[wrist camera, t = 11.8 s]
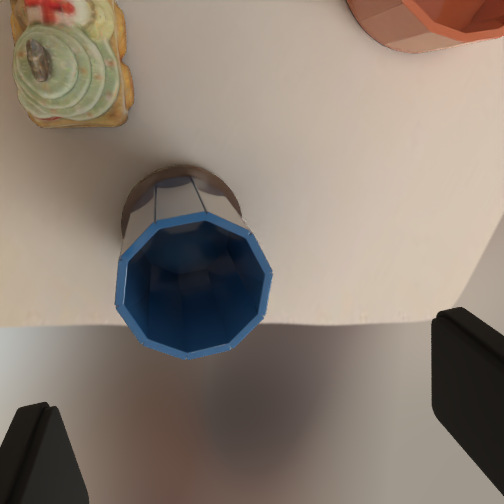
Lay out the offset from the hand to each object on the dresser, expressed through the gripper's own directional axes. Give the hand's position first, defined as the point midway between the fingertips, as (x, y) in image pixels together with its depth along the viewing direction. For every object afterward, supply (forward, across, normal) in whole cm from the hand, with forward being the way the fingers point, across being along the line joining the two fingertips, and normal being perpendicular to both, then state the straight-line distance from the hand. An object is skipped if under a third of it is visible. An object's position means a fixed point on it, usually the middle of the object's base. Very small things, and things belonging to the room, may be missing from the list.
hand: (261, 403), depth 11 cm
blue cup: (+21, +1, +1) cm, 21 cm away
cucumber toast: (+22, +5, -10) cm, 24 cm away
